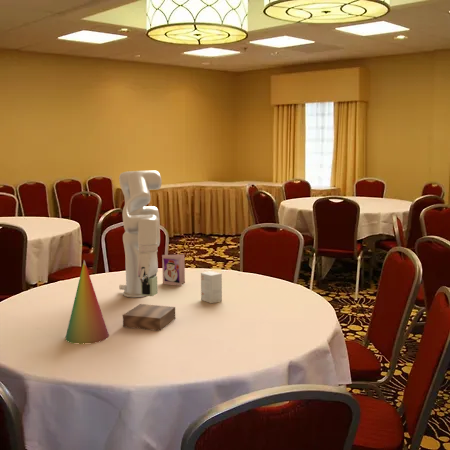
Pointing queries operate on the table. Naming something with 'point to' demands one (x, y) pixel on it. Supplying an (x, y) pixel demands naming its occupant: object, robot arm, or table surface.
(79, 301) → the decorative cone
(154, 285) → the sage block
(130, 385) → the table surface
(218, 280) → the small box
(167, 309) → the walnut base
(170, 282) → the greeting card
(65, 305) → the table surface
